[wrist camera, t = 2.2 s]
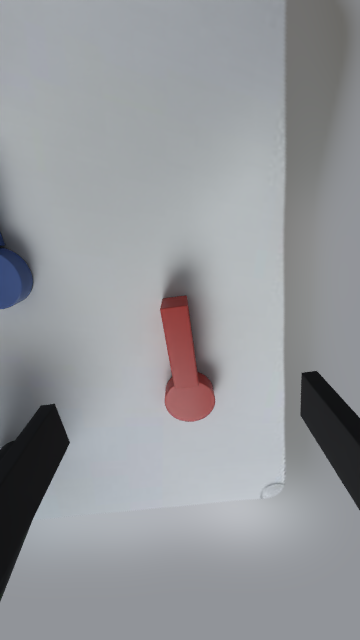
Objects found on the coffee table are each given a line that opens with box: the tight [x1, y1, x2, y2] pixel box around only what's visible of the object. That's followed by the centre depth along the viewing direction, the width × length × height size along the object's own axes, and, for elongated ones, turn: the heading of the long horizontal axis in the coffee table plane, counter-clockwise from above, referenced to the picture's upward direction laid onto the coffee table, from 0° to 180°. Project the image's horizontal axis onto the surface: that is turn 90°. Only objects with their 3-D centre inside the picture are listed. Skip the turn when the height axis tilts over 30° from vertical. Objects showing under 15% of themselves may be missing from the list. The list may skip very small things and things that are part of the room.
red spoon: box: [160, 295, 215, 422], centre depth 22 cm, size 11×4×3 cm, turn 8°
